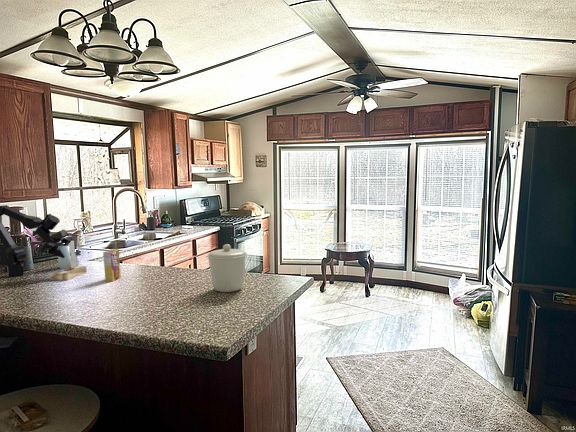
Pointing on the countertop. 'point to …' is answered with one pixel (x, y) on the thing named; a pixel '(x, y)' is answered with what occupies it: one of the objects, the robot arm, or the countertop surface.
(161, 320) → the countertop surface
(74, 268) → the oak stand
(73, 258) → the skincare box
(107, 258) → the candy box
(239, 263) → the canister
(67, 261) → the slate jar
